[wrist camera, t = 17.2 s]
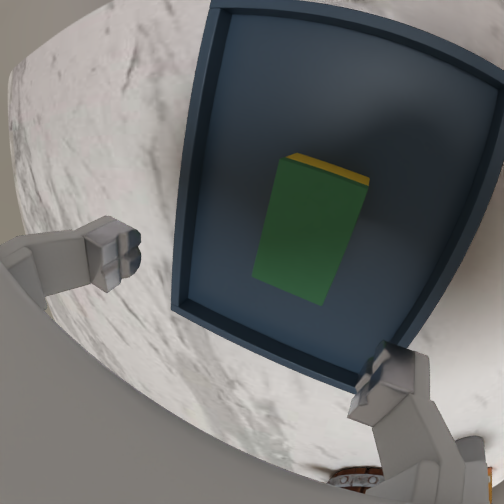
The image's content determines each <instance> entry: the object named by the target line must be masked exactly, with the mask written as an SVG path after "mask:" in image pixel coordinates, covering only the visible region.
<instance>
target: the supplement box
mask: <svg viewBox="0 0 504 504" xmlns="http://www.w3.org/2000/svg"><path fill="white" fill-rule="evenodd" d="M487 469H488V487H489V504H492V467H490V468H487Z"/></svg>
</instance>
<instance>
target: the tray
mask: <svg viewBox="0 0 504 504" xmlns="http://www.w3.org/2000/svg"><path fill="white" fill-rule="evenodd" d="M209 8H210V9H209V12H208V16H207V20H206V25H205V29H204V33H203V38H202V42H201V47H200V52H199V56H198V61H197V66H196V71H195V77H194V82H193V88H192V93H191V99H190V105H189V111H188V118H187V124H186V131H185V138H184V146H183V153H182V161H181V170H180V178H179V188H178V198H177V209H176V220H175V233H174V248H173V265H172V287H171V310H172V311H174V312H176V313H177V314H179V315H181V316H183V317H185V318H187V319H188V320H190V321H192V322H194V323H196V324H198V325H200V326H202V327H204V328H206V329H207V330H209V331H211V332H213V333H215V334H217V335H219V336H221V337H223V338H225V339H227V340H229V341H231V342H233V343H235V344H237V345H240V346H242V347H244V348H246V349H248V350H250V351H252V352H254V353H256V354H259V355H261V356H263V357H265V358H267V359H269V360H272V361H274V362H276V363H278V364H281V365H283V366H285V367H288V368H290V369H292V370H294V371H297V372H299V373H302V374H304V375H306V376H309V377H311V378H314V379H316V380H319V381H321V382H324V383H326V384H329V385H331V386H334V387H336V388H339V389H342V390H344V391H347V392H350V393H352V394H355V395H356V394H357V391H356V389H355V385H356V381H357V378H358V375H359V373H360V371H361V369H362V367H363V365H364V364H365V363H366V361H367V360H368V358H371V357H373V356H374V354H375V348H376V347H377V346H378V344H379V343H380V342H381V341H382V340H383V339H384V340H386V341H389V342H391V343H394V344H396V345H399V346H401V347H404V348H407V347H408V346H409V345H410V343H411V342H412V341H413V339H414V338H415V336H416V335H417V334H418V332H419V331H420V329H421V328H422V326H423V325H424V323H425V322H426V320H427V319H428V317H429V316H430V314H431V313H432V311H433V310H434V308H435V307H436V305H437V303H438V302H439V300H440V299H441V297H442V295H443V294H444V292H445V290H446V289H447V287H448V285H449V283H450V282H451V280H452V278H453V276H454V275H455V273H456V271H457V269H458V267H459V266H460V264H461V262H462V260H463V258H464V256H465V254H466V252H467V250H468V248H469V246H470V244H471V242H472V240H473V238H474V236H475V234H476V231H477V229H478V227H479V225H480V223H481V220H482V218H483V216H484V213H485V211H486V209H487V206H488V204H489V201H490V199H491V196H492V193H493V191H494V188H495V185H496V183H497V180H498V177H499V174H500V171H501V168H502V165H503V162H504V70H502V69H500V68H499V67H497V66H495V65H494V64H492V63H490V62H489V61H487V60H485V59H483V58H481V57H480V56H478V55H476V54H474V53H472V52H470V51H468V50H466V49H464V48H462V47H460V46H458V45H456V44H454V43H451V42H449V41H447V40H445V39H442V38H440V37H438V36H435V35H433V34H430V33H428V32H425V31H423V30H420V29H417V28H415V27H412V26H409V25H406V24H403V23H400V22H397V21H394V20H391V19H387V18H384V17H380V16H377V15H373V14H369V13H365V12H361V11H357V10H353V9H348V8H344V7H338V6H333V5H328V4H322V3H315V2H308V1H300V0H211V3H210V7H209ZM295 153H299V154H303V155H306V156H309V157H312V158H315V159H318V160H321V161H324V162H327V163H330V164H333V165H336V166H339V167H342V168H344V169H347V170H350V171H353V172H355V173H358V174H361V175H363V176H366V177H369V178H370V181H369V186H368V191H367V194H366V197H365V200H364V202H363V205H362V208H361V211H360V214H359V216H358V219H357V222H356V224H355V227H354V230H353V232H352V235H351V238H350V240H349V243H348V245H347V248H346V250H345V253H344V255H343V258H342V260H341V263H340V265H339V268H338V270H337V272H336V275H335V277H334V280H333V282H332V284H331V287H330V289H329V291H328V294H327V296H326V298H325V300H324V303H323V305H322V306H320V305H317V304H315V303H312V302H310V301H308V300H305V299H303V298H301V297H298V296H296V295H293V294H291V293H289V292H286V291H284V290H282V289H279V288H277V287H275V286H272V285H270V284H268V283H265V282H263V281H261V280H258V279H256V278H254V277H252V272H253V267H254V263H255V259H256V255H257V251H258V247H259V243H260V239H261V234H262V230H263V226H264V222H265V218H266V214H267V209H268V205H269V201H270V197H271V193H272V188H273V184H274V180H275V176H276V172H277V167H278V163H279V159H281V158H283V157H287V156H289V155H292V154H295Z"/></svg>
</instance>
